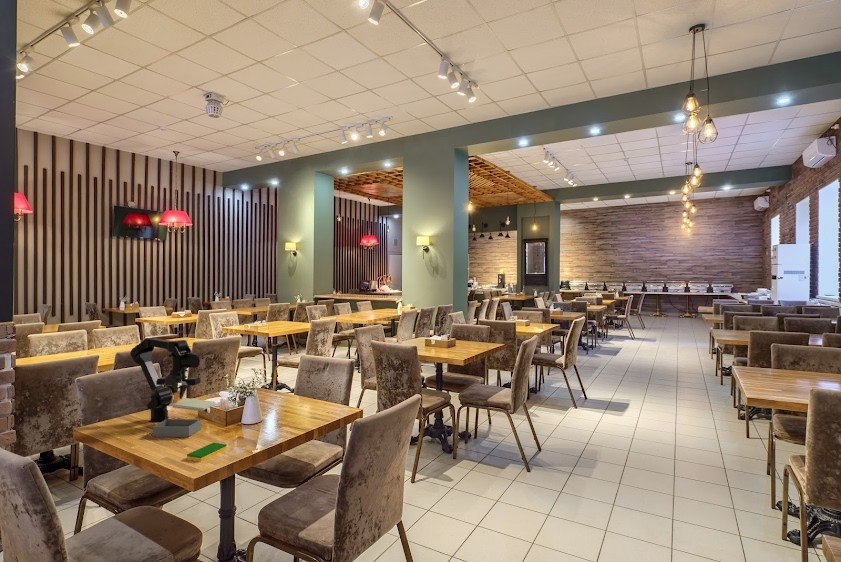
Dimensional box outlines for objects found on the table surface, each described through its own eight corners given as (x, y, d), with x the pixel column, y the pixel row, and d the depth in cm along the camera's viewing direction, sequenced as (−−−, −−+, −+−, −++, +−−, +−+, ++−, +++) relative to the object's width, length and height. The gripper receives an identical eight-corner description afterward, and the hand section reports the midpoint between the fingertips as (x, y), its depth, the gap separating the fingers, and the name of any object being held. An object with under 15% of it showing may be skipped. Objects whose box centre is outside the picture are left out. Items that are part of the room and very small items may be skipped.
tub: (152, 437, 197) (152, 426, 197) (166, 428, 208) (166, 419, 208) (188, 437, 197) (188, 427, 197) (201, 429, 208) (201, 419, 208)
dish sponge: (227, 450, 184) (227, 444, 184) (200, 462, 171) (200, 456, 171) (213, 448, 186) (213, 442, 186) (186, 460, 173) (186, 454, 173)
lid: (168, 407, 211) (170, 394, 211) (181, 401, 222) (183, 388, 222) (203, 411, 211) (205, 398, 211) (214, 405, 222) (216, 392, 222)
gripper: (149, 369, 209) (149, 403, 209) (189, 370, 209) (189, 403, 209) (163, 365, 220) (162, 396, 220) (201, 365, 220) (200, 397, 220)
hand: (178, 398), depth 217 cm, fingers closed on lid, 2 cm apart
